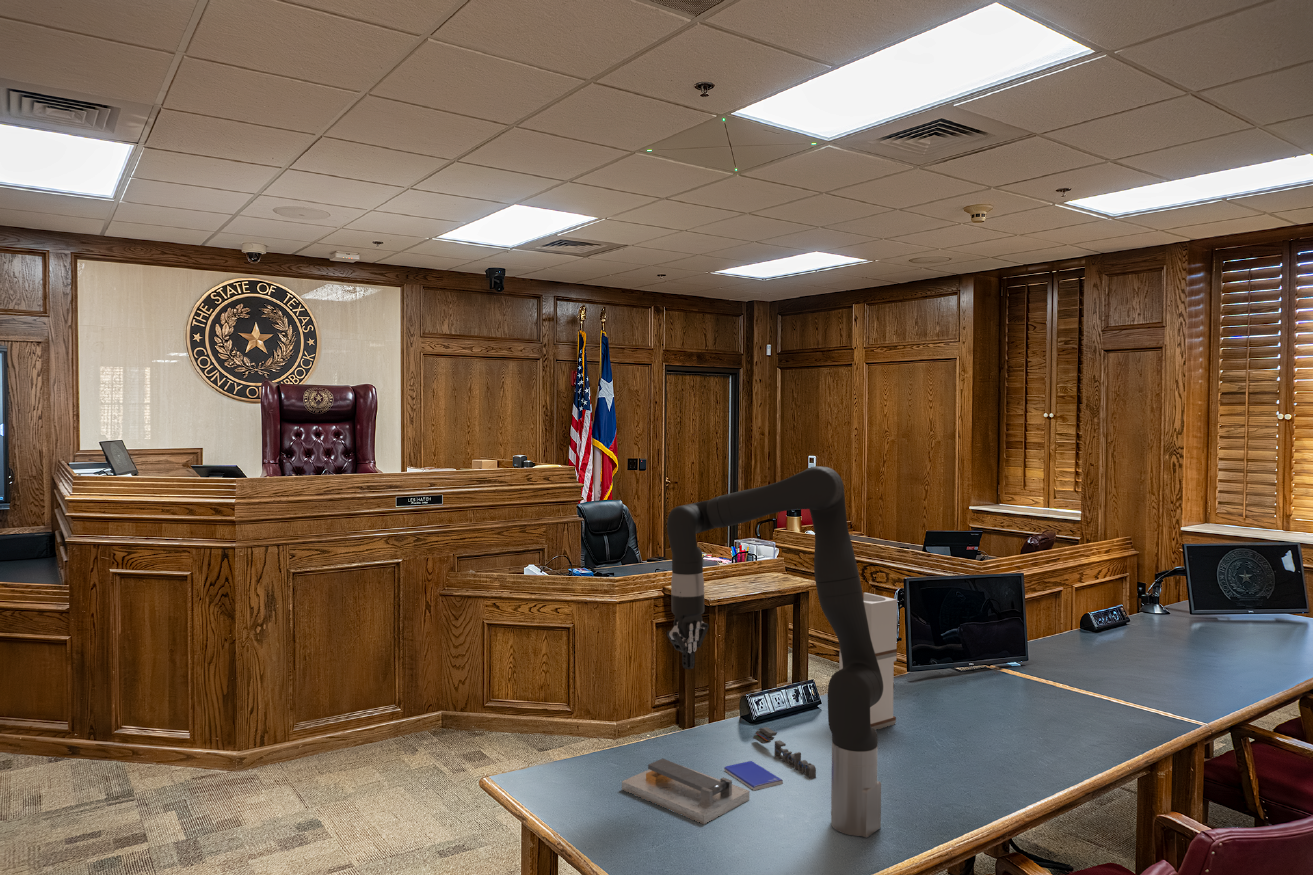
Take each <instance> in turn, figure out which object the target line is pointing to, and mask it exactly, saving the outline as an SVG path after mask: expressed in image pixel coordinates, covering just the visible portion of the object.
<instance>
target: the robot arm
mask: <svg viewBox="0 0 1313 875" xmlns="http://www.w3.org/2000/svg"><path fill="white" fill-rule="evenodd" d="M845 494H846V493H845V486H844V482H843V480H842V477H841V476H840V475H839V473H838V472H837V471H836V470H834V469H833V468H831V467H828V466H820V465H819V466H810V467H807V468H806V469H805V470H803V471H800V472H798V473H796V474H793V475H791V476H789V477H787V478H785V479H782V480H779V481H777V482H774V483H770V484H768V485H764V486H758V487H754V488H748V489H745V490H739V491H736V492H731V493H727V494H723V495H720V496H719V495H718V496H716V497H713V498H711V499H708V500H703V501H698V502H693V503H687V504H683V505H678V506H676V507H675V506H674V508H672V509H671V511H670V512H669V514H668V516H667V520H666V529H667V530H666V531H667V537H668V542H669V547H670V550H671V556H672V557H671V580H670V582H671V584H670V586H671V587H670V588H671V590H670V591H671V593H670V594H671V595H670V596H671V598H670V599H671V605H670V606H671V613H672V614H673V615H674V620H673V627H672V629H671V630H667V631H666V636H667V638H668V639H669V641H670V643H671V644H672V646H673V648H674V649H675V650H676V651H679V652H680V653H681V666H682V668H683V669H684V670H691V669H694V668H695V663H696V657H695V656H696V655H695V654H696V651H697V649H698V648H701V646H702V644H703V641H704V640H705V637H706V636H707V632H708V630H709V628H710V625H709V623H705V622H704V621H703V616H702V615H703V614H704V613H705V579H704V572H703V571H704V565H703V564H704V563H703V562H704V559H703V552H702V549H701V548H700V547H699V546H698V543H697V534H700V533H703V532H707V531H711V530H713V529H717V528H718V529H720V528H727V527H732V526H735V525H736V526H737V525H740V524H744V523H747V522H750V521H751V522H752V521H754V520H757V519H760V518H764V517H766V516H769V515H772V514H777V513H781V512H787V511H795V510H797V511H798V510H809V512H810V514H809V515H810V517H811V521H812V525H813V526H812V527H813V532H814V555H813V559H814V561H813V567H814V568H813V570H814V582H815V586H816V592H817V593H816V594H817V596H818V597H817V598H818V601H819V605H820V607H821V610H822V612H823V614H824V617H825V618H826V620H827V622H828V623H829V625H830V627H831V628H832V630H833V631H834V633H835V636H836V638H837V640H838V644H839V650H841V656H842V663H843V669H841V670H837V671H836V672H835V673H833V674H832V675H831V677H830V679H829V682H828V686H827V718H828V719H827V720H828V721H827V722H828V727H829V731H830V733H831V780H830V781H831V783H830V784H831V787H830V788H831V793H830V794H831V797H830V799H831V800H830V801H831V803H830V805H831V806H830V807H831V808H830V815H831V816H830V817H831V818H830V824H831V826H832V827H833V829H835V830H836V831H838V832H840V833H843V834H844V835H848V836H856V837H857V836H858V837H863V838H869V837H870V836H871V835H872V834H874V833H875V832H877V831H878V830H880V829H881V826H882V823H881V821H882V816H881V815H882V783H881V781H879V780H878V746H879V744H878V740H879V739H878V732H877V730H875V729H874V728H872V727H871V723H870V707H872V706H873V705H875V704H876V703H877V702H878V701H879V700H880V698H881V696H882V694H883V680H882V675H881V672H880V668H879V665H878V662H877V658H876V655H875V652H874V648H873V645H872V641H871V637H870V632H869V627H868V621H867V616H866V611H865V606H864V592H863V588H862V583H861V582H862V581H861V577H860V573H859V568H858V564H857V560H856V555H855V552H854V551H855V550H854V547H853V543H852V539H851V536H850V532H849V527H848V526H849V525H848V520H847V519H848V518H847V510H846V497H845V496H846V495H845Z"/></svg>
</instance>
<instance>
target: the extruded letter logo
mask: <svg viewBox="0 0 1313 875" xmlns="http://www.w3.org/2000/svg"><path fill="white" fill-rule="evenodd" d="M777 733H778V732H777V731H774V730H772V729H770V728H769V727H768V726H766V727H760V728H758V729H757V730H756V731H755V733H754V734H755V735H753V736H752V739H754V740H755V741H757V742H758V743H760V744H762V745H763V744H770V743H772V741H773V740H774V739H775V738H776V737H775V736H777V735H778V734H777ZM782 747H786V743H785V742H784V741H782V740H781V739H779V740H775V741H774V754H773V755H774V757H775V758H777V759H779V761H780V760H781V761H782V762H784V763H785V764H787V765H788V766H790V767H791V768H794V770H796V771H798V772H799V773H801V774H804V776H805V777H807V776H808V778H809V779H811V780H812V779H815V778H817V768H816V766H815V765H814V764H812V763H811V762H808V761H807V760H806V759H802V753H801V752H800V751H798V752H794V753H793V751H789V749H788V748H782Z"/></svg>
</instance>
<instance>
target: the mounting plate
mask: <svg viewBox="0 0 1313 875" xmlns="http://www.w3.org/2000/svg"><path fill="white" fill-rule="evenodd" d="M674 763H675V762H674ZM675 764H677V763H675ZM679 765H680V764H679ZM680 766H683V767H685V768H688V769H690V770H692V771H695V772H697V773H700V774H702V775H705V776H707V777H710V778H712V779H715V780H717V781H719V782H722V781H724V782H725V783H726V785H727V788H726V790H724V791H722V792H720V793H718V794H716V795H714V796H713V790H710V789H708V788H705V787H703V788H701V791H699V790H696V789H694V788H692V787H689V786H687V785H685V784H682V783H680V782H678V781H675V780H673V779H671V778H668V777H666V776H663V775H661V774H659V773H656V772H654V771H652V770H649V769H647V770H644V771H642V772H640V773H638V774H635V775H633V776H631V777H628V778H627V779H625V780H622V781H621V791H623V790H624V791H623V792H625V791H626V792H625V793H628V792H629V793H628V794H630V793H632V794H634V795H633V796H635V795H636V796H635V797H637V796H638V797H637V798H639V797H641V798H640V799H642V800H644V799H646V800H645V801H647V802H649V801H651V802H652V803H651V802H650V803H651V804H654V803H656V804H657V805H656V804H655V805H656V806H658V805H660V806H659V807H661V806H662V807H661V808H663V807H665V808H667V809H666V810H668V809H670V810H672V811H671V812H673V811H674V812H673V813H675V812H676V813H675V814H677V813H678V815H680V814H682V815H683V816H682V815H681V816H682V817H684V816H686V817H685V818H687V817H688V818H687V819H689V818H690V820H692V821H694V820H695V821H694V822H696V821H697V822H696V823H699V822H700V823H699V824H701V825H706V824H708V823H709V821H710V822H712V821H713V820H715V819H717V818H718V816H719V817H720V816H722V815H724V814H726V813H728V812H730V811H732V810H733V809H735V808H738V807H739V806H741V805H743V804H745V803H746V802H748V801H750V790H748V789H746V788H744V787H740V786H738V785H735V784H733V781H732V780H731V779H729V778H726V777H722V778H720V779H719V778H716V777H714V776H713V777H712V776H710V775H708V774H705V773H702V772H700V771H697V770H695V769H692V768H689V767H686V766H684V765H680ZM632 794H631V795H632ZM665 808H664V809H665ZM670 810H669V811H670ZM711 820H712V821H711ZM707 822H708V823H707Z"/></svg>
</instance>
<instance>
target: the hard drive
mask: <svg viewBox="0 0 1313 875" xmlns="http://www.w3.org/2000/svg"><path fill="white" fill-rule="evenodd" d="M723 771H724V772H725V773H727V774H728V775H730V776H732V777H733V778H734V779H736V780H737V779H738V780H737V781H739V782H740V781H741V782H740V783H742V784H743V785H745V786H747V787H748V788H749V789H751V790H752V789H753V790H752V791H758V789H759V790H762V788H763V789H765V788H766V789H767V788H769V787H770V786H771V787H775V786H778V785H779V786H780V785H782V784H783V783H784V782H783V779H782V778H780V777H778V776H777V775H775V774H773V773H772V772H770V771H769V770H767V768H764V767H762V766H761V765H759V764H757V763H756V762H754V761H753V760H749V761H744V762H740V763H739V762H738V763H735V764H730V765H727V766H724V770H723Z"/></svg>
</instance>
